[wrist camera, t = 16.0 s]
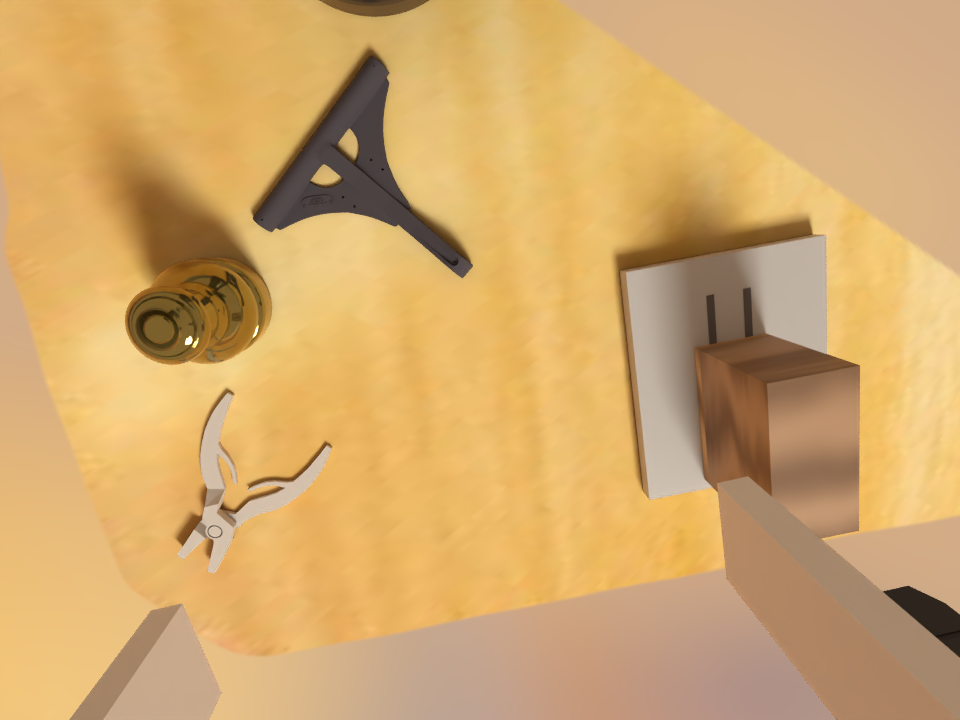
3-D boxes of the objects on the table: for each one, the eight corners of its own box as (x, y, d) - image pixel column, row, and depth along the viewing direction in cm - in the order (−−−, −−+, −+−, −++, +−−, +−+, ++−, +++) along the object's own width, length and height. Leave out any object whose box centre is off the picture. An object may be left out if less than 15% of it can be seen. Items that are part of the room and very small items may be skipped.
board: (619, 270, 42) (626, 272, 41) (813, 234, 43) (826, 234, 41) (643, 491, 48) (649, 500, 46) (815, 457, 48) (827, 465, 46)
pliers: (331, 454, 44) (248, 590, 46) (335, 446, 45) (254, 578, 48) (219, 395, 42) (139, 540, 44) (227, 388, 43) (149, 529, 46)
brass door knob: (289, 332, 42) (243, 364, 32) (202, 363, 42) (131, 405, 33) (248, 242, 40) (186, 248, 30) (157, 275, 40) (67, 292, 31)
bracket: (411, 338, 43) (409, 345, 41) (256, 217, 40) (243, 217, 38) (525, 198, 41) (531, 196, 39) (372, 59, 38) (367, 47, 36)
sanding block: (694, 347, 43) (767, 383, 33) (766, 333, 43) (859, 365, 33) (704, 479, 46) (774, 547, 36) (771, 466, 46) (858, 530, 36)
